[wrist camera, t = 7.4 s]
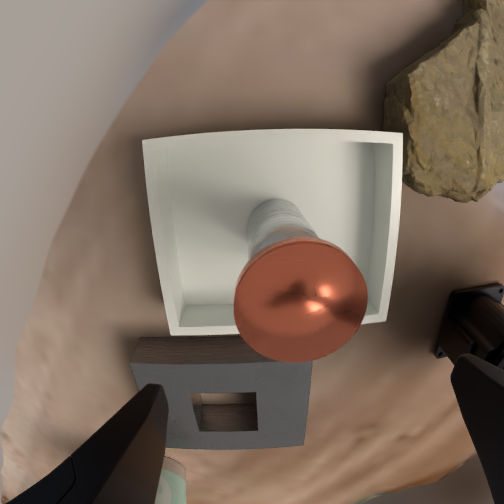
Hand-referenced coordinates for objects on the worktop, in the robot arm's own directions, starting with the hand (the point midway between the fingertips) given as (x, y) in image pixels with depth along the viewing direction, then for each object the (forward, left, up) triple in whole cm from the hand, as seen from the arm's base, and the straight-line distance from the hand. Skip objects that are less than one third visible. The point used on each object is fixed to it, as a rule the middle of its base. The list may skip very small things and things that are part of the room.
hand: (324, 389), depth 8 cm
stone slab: (-16, -14, -13) cm, 25 cm away
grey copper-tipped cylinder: (0, -1, -12) cm, 12 cm away
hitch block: (+4, +12, -12) cm, 18 cm away
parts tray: (0, -1, -12) cm, 12 cm away
